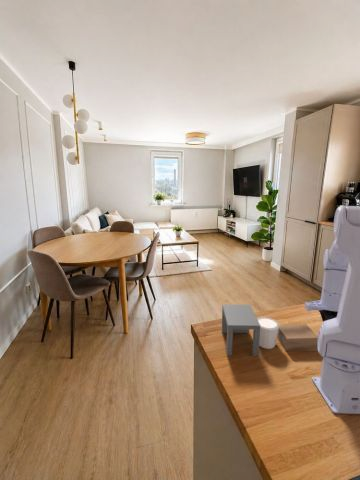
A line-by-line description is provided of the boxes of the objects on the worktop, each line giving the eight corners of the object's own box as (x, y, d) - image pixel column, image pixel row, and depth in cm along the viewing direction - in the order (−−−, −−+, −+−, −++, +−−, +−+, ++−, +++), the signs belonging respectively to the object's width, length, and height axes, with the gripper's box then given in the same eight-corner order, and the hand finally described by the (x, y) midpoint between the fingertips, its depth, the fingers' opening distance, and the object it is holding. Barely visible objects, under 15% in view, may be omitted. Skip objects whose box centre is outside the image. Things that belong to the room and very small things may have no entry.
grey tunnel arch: (258, 355, 68) (260, 325, 66) (227, 355, 68) (228, 325, 66) (248, 331, 79) (249, 304, 77) (221, 330, 80) (222, 304, 78)
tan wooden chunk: (317, 351, 70) (319, 337, 69) (285, 351, 70) (286, 338, 69) (304, 336, 76) (306, 324, 75) (275, 337, 76) (276, 324, 75)
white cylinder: (273, 336, 76) (275, 317, 75) (280, 350, 70) (282, 329, 68) (252, 335, 77) (253, 316, 76) (256, 349, 70) (258, 328, 69)
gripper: (350, 284, 72) (343, 323, 75) (302, 284, 73) (297, 323, 76) (366, 295, 65) (359, 337, 68) (313, 294, 66) (308, 337, 69)
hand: (327, 331), depth 72 cm, fingers closed
